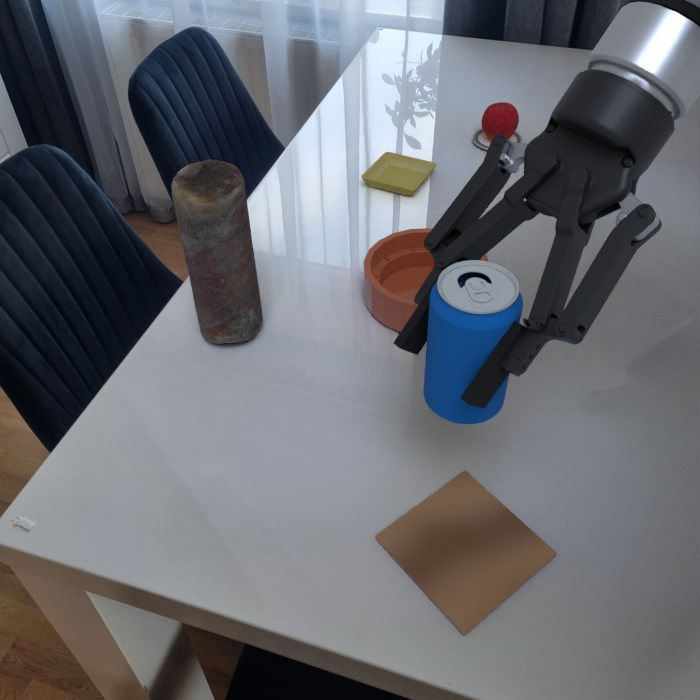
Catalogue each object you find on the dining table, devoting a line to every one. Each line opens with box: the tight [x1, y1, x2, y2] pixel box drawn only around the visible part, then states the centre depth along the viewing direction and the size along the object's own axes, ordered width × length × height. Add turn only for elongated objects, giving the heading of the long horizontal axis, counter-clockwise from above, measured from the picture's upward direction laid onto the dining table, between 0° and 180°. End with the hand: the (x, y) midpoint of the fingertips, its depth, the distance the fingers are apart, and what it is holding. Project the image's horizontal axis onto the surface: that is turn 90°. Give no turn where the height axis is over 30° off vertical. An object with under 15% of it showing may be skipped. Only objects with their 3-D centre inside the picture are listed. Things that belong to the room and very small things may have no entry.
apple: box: [471, 101, 524, 151], centre depth 107 cm, size 8×8×6 cm
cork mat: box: [375, 470, 558, 637], centre depth 59 cm, size 11×11×1 cm
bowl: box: [363, 227, 490, 333], centre depth 81 cm, size 15×15×5 cm
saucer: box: [360, 151, 438, 197], centre depth 101 cm, size 9×9×2 cm
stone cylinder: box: [170, 158, 264, 345], centre depth 73 cm, size 8×7×20 cm
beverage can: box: [422, 260, 524, 426], centre depth 51 cm, size 6×6×12 cm
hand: (438, 374), depth 50 cm, fingers closed on beverage can, 6 cm apart
